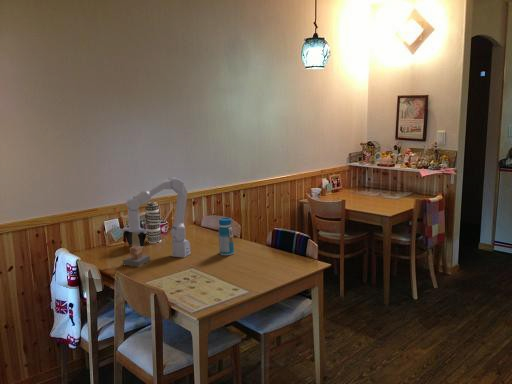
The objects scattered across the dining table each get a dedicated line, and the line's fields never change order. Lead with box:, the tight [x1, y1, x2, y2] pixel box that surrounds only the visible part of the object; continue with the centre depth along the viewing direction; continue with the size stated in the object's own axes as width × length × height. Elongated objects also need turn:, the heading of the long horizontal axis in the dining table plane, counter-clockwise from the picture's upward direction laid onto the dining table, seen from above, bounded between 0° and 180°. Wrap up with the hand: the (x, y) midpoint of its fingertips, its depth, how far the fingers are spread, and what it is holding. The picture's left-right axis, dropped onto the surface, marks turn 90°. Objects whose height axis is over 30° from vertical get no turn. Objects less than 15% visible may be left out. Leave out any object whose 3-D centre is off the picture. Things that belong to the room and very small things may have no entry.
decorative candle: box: [144, 201, 163, 244], centre depth 287 cm, size 9×9×25 cm
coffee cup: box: [127, 222, 145, 249], centre depth 274 cm, size 9×9×15 cm
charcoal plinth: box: [122, 254, 151, 267], centre depth 251 cm, size 10×10×3 cm
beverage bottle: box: [218, 217, 235, 256], centre depth 260 cm, size 8×8×20 cm
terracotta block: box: [129, 246, 143, 260], centre depth 250 cm, size 4×4×6 cm
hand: (136, 245), depth 250 cm, fingers open, 7 cm apart
